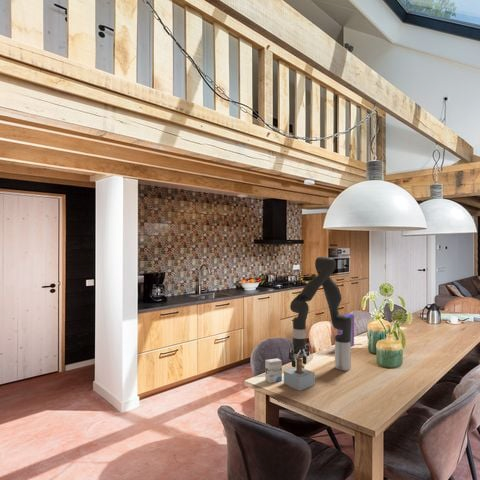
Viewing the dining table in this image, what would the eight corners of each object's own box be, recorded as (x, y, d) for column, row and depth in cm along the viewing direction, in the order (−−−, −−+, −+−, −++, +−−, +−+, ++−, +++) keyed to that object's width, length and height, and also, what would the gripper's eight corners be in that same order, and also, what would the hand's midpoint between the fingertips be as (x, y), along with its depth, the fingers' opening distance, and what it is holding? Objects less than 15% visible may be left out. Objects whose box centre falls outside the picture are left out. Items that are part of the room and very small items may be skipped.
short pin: (301, 374, 211) (301, 364, 211) (305, 375, 209) (305, 365, 209) (298, 375, 209) (298, 365, 210) (301, 377, 207) (302, 366, 207)
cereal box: (343, 350, 259) (343, 317, 259) (337, 349, 262) (337, 316, 263) (354, 345, 272) (354, 314, 272) (348, 344, 275) (348, 313, 275)
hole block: (298, 378, 205) (298, 366, 205) (314, 385, 195) (314, 372, 195) (283, 383, 197) (283, 371, 197) (299, 390, 188) (299, 377, 188)
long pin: (302, 384, 196) (303, 359, 196) (299, 386, 194) (299, 360, 194) (298, 382, 198) (299, 358, 198) (295, 384, 196) (295, 359, 197)
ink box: (278, 377, 206) (278, 357, 206) (282, 381, 201) (282, 360, 201) (264, 379, 203) (265, 359, 203) (268, 383, 198) (268, 362, 198)
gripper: (295, 340, 189) (295, 370, 189) (312, 335, 198) (312, 364, 198) (285, 337, 195) (285, 366, 195) (302, 333, 204) (302, 361, 204)
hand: (299, 365), depth 196 cm, fingers open, 8 cm apart
